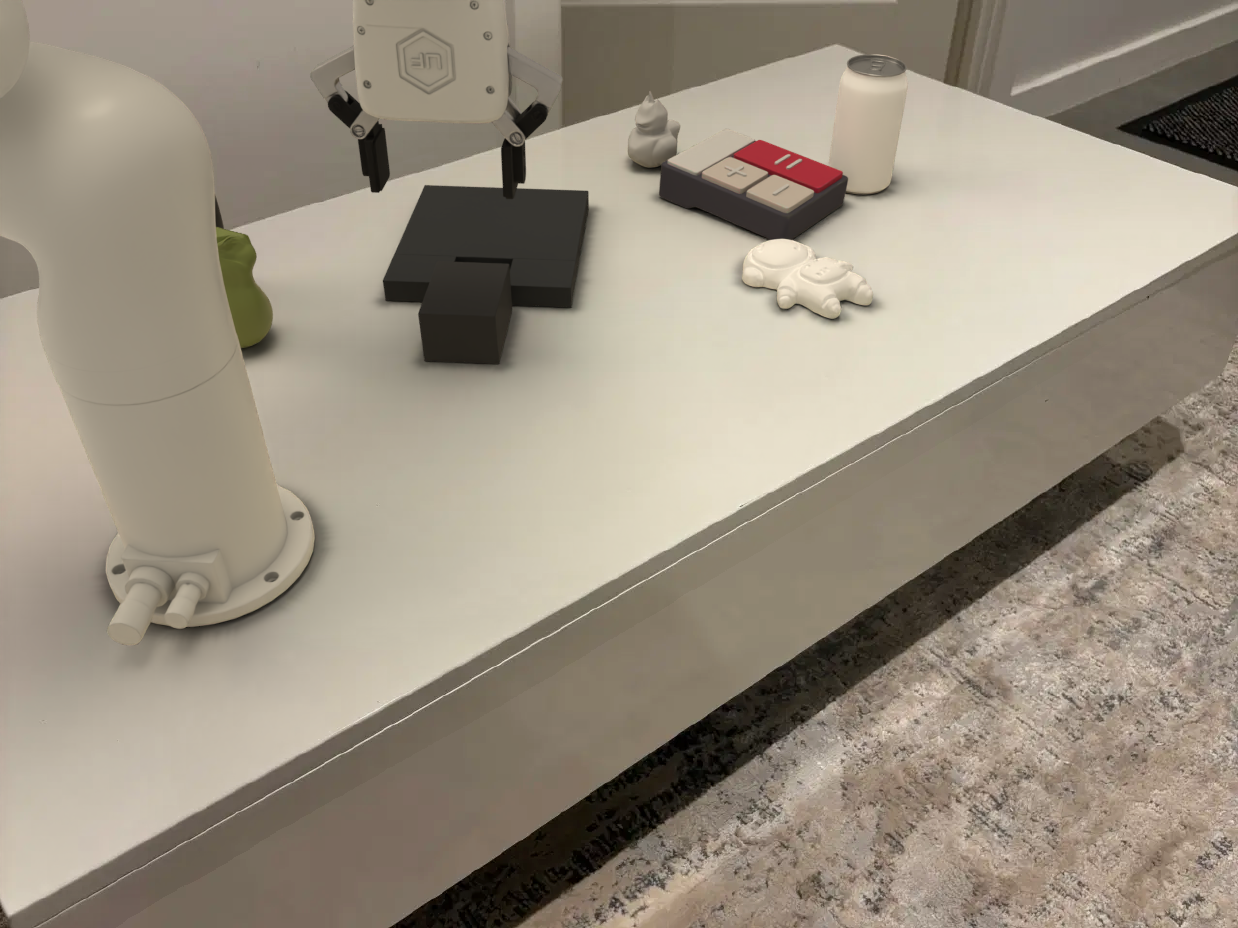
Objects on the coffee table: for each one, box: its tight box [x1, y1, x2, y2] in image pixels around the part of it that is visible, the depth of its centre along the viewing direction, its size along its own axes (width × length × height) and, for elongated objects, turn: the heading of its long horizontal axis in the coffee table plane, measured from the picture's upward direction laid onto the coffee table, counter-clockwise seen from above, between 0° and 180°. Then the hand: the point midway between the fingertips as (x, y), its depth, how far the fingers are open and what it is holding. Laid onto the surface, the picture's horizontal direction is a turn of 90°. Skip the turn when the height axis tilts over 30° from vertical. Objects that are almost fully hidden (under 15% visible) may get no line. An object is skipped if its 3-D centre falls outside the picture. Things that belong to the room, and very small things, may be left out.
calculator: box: [658, 128, 848, 240], centre depth 106 cm, size 11×4×15 cm
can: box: [827, 53, 909, 196], centre depth 107 cm, size 6×6×12 cm
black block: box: [417, 261, 513, 365], centre depth 89 cm, size 12×6×4 cm, turn 177°
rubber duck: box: [627, 90, 681, 169], centre depth 111 cm, size 5×7×8 cm
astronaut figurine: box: [741, 239, 874, 320], centre depth 94 cm, size 9×12×3 cm
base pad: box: [382, 184, 590, 309], centre depth 99 cm, size 18×16×2 cm
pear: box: [216, 227, 274, 349], centre depth 85 cm, size 6×5×10 cm
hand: (445, 188), depth 79 cm, fingers open, 9 cm apart
